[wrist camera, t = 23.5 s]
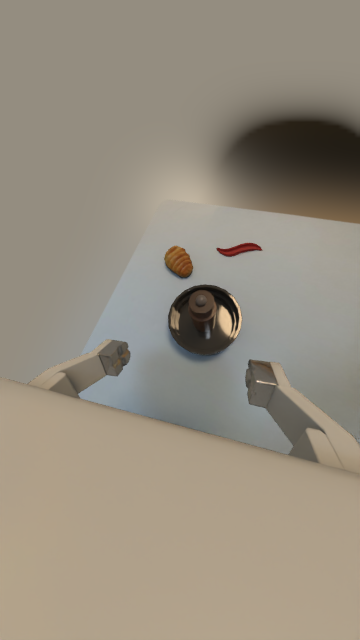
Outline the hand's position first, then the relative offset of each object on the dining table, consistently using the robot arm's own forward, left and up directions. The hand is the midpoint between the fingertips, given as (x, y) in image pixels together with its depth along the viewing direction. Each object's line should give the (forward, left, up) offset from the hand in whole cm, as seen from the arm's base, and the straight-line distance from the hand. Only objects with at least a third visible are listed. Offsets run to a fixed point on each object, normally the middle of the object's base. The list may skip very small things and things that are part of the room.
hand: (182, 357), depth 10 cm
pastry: (-14, -25, -26) cm, 39 cm away
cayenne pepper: (-28, -16, -26) cm, 41 cm away
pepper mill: (-7, -7, -26) cm, 27 cm away
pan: (-7, -7, -26) cm, 28 cm away
